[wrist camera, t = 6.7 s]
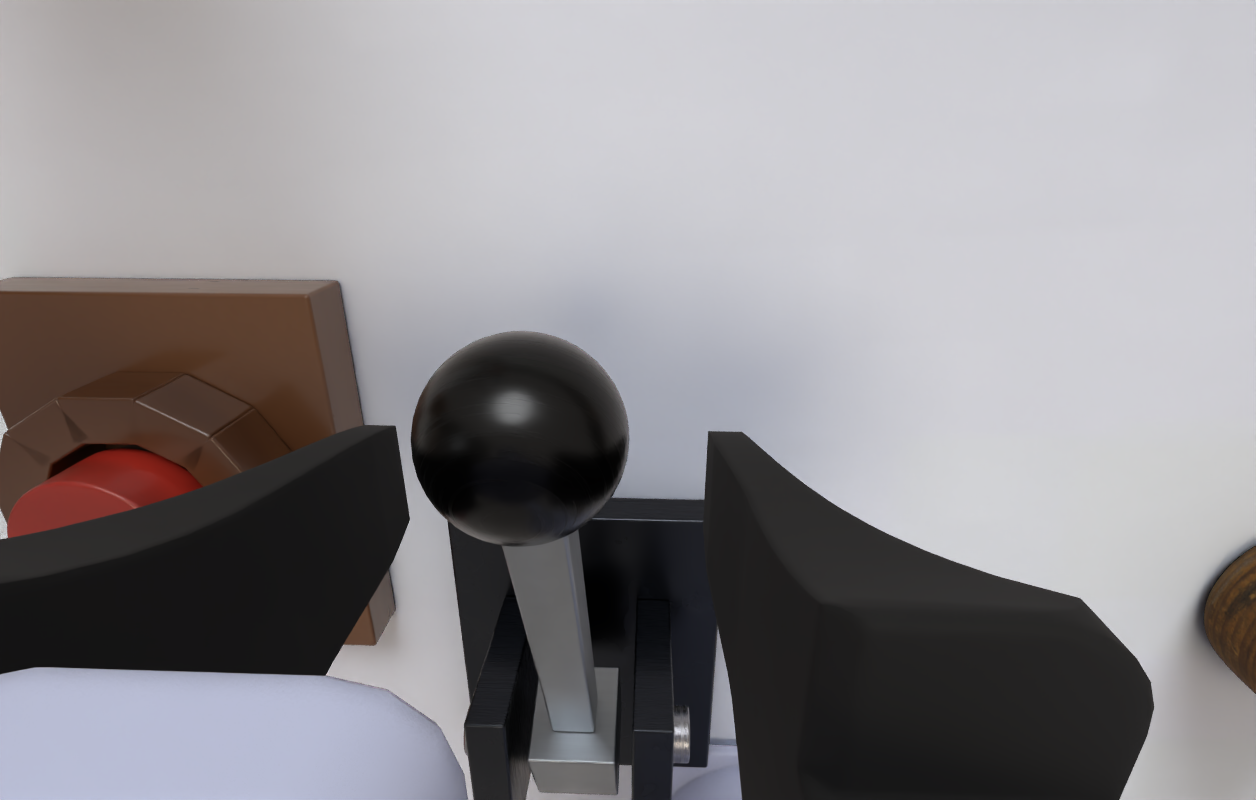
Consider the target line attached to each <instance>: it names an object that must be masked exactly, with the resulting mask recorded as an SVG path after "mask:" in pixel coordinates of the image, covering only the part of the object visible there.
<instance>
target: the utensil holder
mask: <svg viewBox="0 0 1256 800" xmlns="http://www.w3.org/2000/svg"><path fill="white" fill-rule="evenodd" d="M1204 626H1205V631H1206V634H1207V637H1208V639H1209V641H1210V643H1211V645H1212V647H1213V648H1214V650H1215V652H1216V653H1217V654H1218V655H1219V657H1220V658H1221V659H1222V660H1223V661H1224V663H1225V664H1226V665H1227V666H1228V667H1229V668H1230V669H1231V670H1232V671H1233V672H1234V673H1235V674H1236V675H1237V676H1238V677H1239V678H1240V679H1241V680H1242V681H1243V682H1244V683H1245V684H1246V685H1247V686H1248V687H1249V688H1250V689H1251V690H1252V691H1253V692H1254V693H1255V694H1256V546H1254V547H1253V548H1251V549H1250V550H1248V551H1247V552H1245V553H1244V554H1243V555H1242V556H1240V557H1239V558H1238V559H1237V560H1236V561H1234V562H1233V563H1232V564H1231V565H1230V566H1229V567H1228V568H1227V569H1226V570H1225V571H1224V573H1223V574H1222V575H1221V576H1220V578H1219V579H1218V580H1217V582H1216V583H1215V585H1214V587H1213V588H1212V590H1211V592H1210V594H1209V597H1208V599H1207V602H1206V606H1205V612H1204Z"/></svg>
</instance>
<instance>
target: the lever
mask: <svg viewBox="0 0 1256 800" xmlns="http://www.w3.org/2000/svg"><path fill="white" fill-rule="evenodd" d="M411 447H412V459H413V463H414V466H415V470H416V474H417V477H418V479H419V482H420V484H421V486H422V488H423V490H424V492H425V494H426V496H427V497H428V498H429V500H430V501H431V503H432V504H433V505H434V507H435V508H436V509H437V510H438V511H439V513H440V514H441V515H442V516H443V517H445V518H446V519H447V520H448V521H449V522H450V523H452V524H453V525H454V526H455V527H457V528H458V529H460V530H461V531H463V532H465V533H467V534H468V535H471V536H473V537H475V538H477V539H480V540H482V541H485V542H488V543H492V544H496V545H501V546H502V548H503V551H504V555H505V559H506V562H507V566H508V569H509V573H510V577H511V580H512V584H513V588H514V591H515V595H516V599H517V602H518V606H519V609H520V613H521V617H522V620H523V624H524V628H525V631H526V635H527V639H528V642H529V646H530V649H531V653H532V657H533V660H534V664H535V668H536V671H537V675H538V680H537V688H536V695H535V703H534V710H533V718H532V725H531V733H530V740H529V748H528V755H527V762H528V764H529V767H530V770H531V772H532V775H533V777H534V780H535V782H536V785H537V787H538V790H539V792H544V793H571V794H599V795H617V794H618V784H619V759H620V734H621V709H622V704H621V684H620V669H619V668H618V667H594V660H593V652H592V643H591V635H590V626H589V617H588V609H587V600H586V592H585V583H584V575H583V566H582V558H581V549H580V541H579V532H578V529H580V528H581V527H583V526H584V525H586V524H587V523H588V522H589V521H590V520H592V519H593V518H594V517H595V516H596V515H597V514H598V513H599V512H600V511H601V510H602V509H603V507H604V506H605V505H606V504H607V502H608V501H609V500H610V498H611V497H612V496H613V494H614V492H615V490H616V488H617V486H618V484H619V482H620V480H621V478H622V475H623V472H624V468H625V465H626V461H627V456H628V449H629V427H628V419H627V415H626V410H625V407H624V404H623V401H622V399H621V396H620V394H619V392H618V390H617V388H616V386H615V384H614V382H613V381H612V380H611V378H610V377H609V375H608V374H607V373H606V371H605V370H604V369H603V368H602V367H601V365H600V364H599V363H598V362H597V361H596V360H594V359H593V358H592V357H591V356H590V355H588V354H587V353H586V352H585V351H583V350H582V349H580V348H579V347H577V346H576V345H574V344H572V343H570V342H568V341H566V340H563V339H560V338H558V337H555V336H551V335H548V334H544V333H538V332H529V331H511V332H504V333H499V334H495V335H491V336H488V337H484V338H482V339H479V340H477V341H474V342H472V343H471V344H469V345H467V346H465V347H464V348H462V349H460V350H459V351H457V352H456V353H455V354H453V355H452V356H451V357H450V358H448V359H447V360H446V361H445V362H444V363H443V364H442V365H441V366H440V367H439V368H438V369H437V371H436V372H435V373H434V374H433V376H432V377H431V378H430V380H429V381H428V383H427V385H426V386H425V388H424V390H423V392H422V394H421V396H420V398H419V401H418V404H417V406H416V410H415V413H414V417H413V423H412V432H411Z"/></svg>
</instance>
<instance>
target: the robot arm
mask: <svg viewBox="0 0 1256 800" xmlns="http://www.w3.org/2000/svg"><path fill="white" fill-rule="evenodd" d="M409 520H410V518H409V511H408V504H407V498H406V491H405V485H404V478H403V471H402V465H401V458H400V452H399V445H398V438H397V432H396V426H380V425H362V426H358V427H354V428H351V429H348V430H345V431H342V432H339V433H337V434H334V435H331V436H329V437H326V438H324V439H321V440H319V441H317V442H314V443H312V444H309V445H307V446H305V447H302V448H300V449H298V450H295V451H293V452H290V453H288V454H286V455H283V456H281V457H279V458H276V459H274V460H271V461H269V462H267V463H264V464H262V465H259V466H256V467H254V468H251V469H249V470H246V471H244V472H241V473H238V474H236V475H233V476H231V477H228V478H226V479H223V480H221V481H218V482H215V483H213V484H210V485H207V486H204V487H202V488H199V489H196V490H193V491H190V492H187V493H184V494H181V495H178V496H175V497H172V498H168V499H165V500H162V501H159V502H155V503H152V504H149V505H146V506H142V507H139V508H135V509H132V510H128V511H124V512H120V513H116V514H112V515H108V516H104V517H100V518H96V519H92V520H88V521H84V522H80V523H76V524H72V525H68V526H64V527H60V528H55V529H51V530H46V531H41V532H36V533H31V534H26V535H21V536H16V537H11V538H6V539H1V540H0V800H468V797H467V790H466V783H465V775H464V773H463V771H462V769H461V767H460V765H459V763H458V761H457V759H456V757H455V755H454V753H453V751H452V749H451V747H450V746H449V744H448V742H447V740H446V738H445V736H444V734H443V732H442V730H441V728H440V727H439V726H438V725H437V724H436V723H435V722H434V721H432V720H431V719H429V718H428V717H427V716H425V715H424V714H422V713H421V712H419V711H418V710H416V709H415V708H414V707H412V706H411V705H409V704H408V703H406V702H405V701H403V700H402V699H401V698H399V697H398V696H396V695H395V694H393V693H392V692H390V691H389V690H387V689H383V688H379V687H374V686H370V685H365V684H361V683H356V682H352V681H348V680H343V679H339V678H334V677H330V676H325V675H326V673H327V672H328V670H329V668H330V666H331V664H332V662H333V661H334V659H335V657H336V656H337V654H338V652H339V651H340V649H341V648H342V646H343V644H344V643H345V641H346V639H347V638H348V636H349V634H350V633H351V631H352V629H353V628H354V626H355V624H356V623H357V621H358V620H359V618H360V616H361V615H362V613H363V611H364V610H365V608H366V606H367V605H368V603H369V601H370V600H371V598H372V597H373V595H374V593H375V591H376V590H377V588H378V586H379V585H380V583H381V581H382V580H383V578H384V576H385V575H386V573H387V571H388V569H389V568H390V566H391V564H392V562H393V560H394V557H395V555H396V553H397V550H398V548H399V546H400V544H401V541H402V538H403V536H404V533H405V531H406V528H407V525H408V523H409ZM703 533H704V547H705V560H706V572H707V577H708V582H709V586H710V591H711V596H712V601H713V606H714V610H715V615H716V620H717V625H718V629H719V634H720V639H721V643H722V648H723V653H724V658H725V662H726V667H727V672H728V677H729V683H730V689H731V696H732V704H733V713H734V723H735V733H736V742H737V746H734V745H709V754H708V766H707V767H706V768H694V767H673V781H672V800H1119V799H1120V797H1121V794H1122V792H1123V790H1124V787H1125V785H1126V783H1127V781H1128V778H1129V776H1130V774H1131V771H1132V769H1133V767H1134V765H1135V762H1136V760H1137V758H1138V755H1139V753H1140V751H1141V749H1142V746H1143V744H1144V742H1145V739H1146V737H1147V734H1148V730H1149V726H1150V722H1151V718H1152V714H1153V710H1154V702H1153V695H1152V688H1151V682H1150V680H1149V678H1148V677H1147V675H1146V673H1145V672H1144V670H1143V668H1142V667H1141V665H1140V663H1139V662H1138V660H1137V658H1136V657H1135V656H1134V655H1133V654H1132V653H1131V652H1130V651H1129V650H1128V649H1127V648H1126V647H1125V646H1124V644H1123V643H1122V642H1121V641H1120V640H1119V639H1118V638H1117V637H1116V636H1115V635H1114V634H1113V633H1112V632H1111V630H1110V629H1109V628H1108V627H1107V626H1106V625H1105V624H1104V623H1103V622H1102V621H1101V620H1100V619H1099V618H1098V616H1097V615H1096V614H1095V613H1094V612H1093V611H1092V610H1091V609H1090V608H1089V607H1088V606H1087V605H1086V604H1085V603H1084V602H1083V601H1082V600H1081V599H1080V598H1077V597H1073V596H1070V595H1066V594H1062V593H1058V592H1054V591H1051V590H1047V589H1043V588H1039V587H1036V586H1032V585H1028V584H1024V583H1020V582H1017V581H1013V580H1009V579H1005V578H1001V577H998V576H995V575H992V574H989V573H986V572H983V571H980V570H977V569H974V568H971V567H968V566H965V565H962V564H959V563H956V562H953V561H951V560H948V559H945V558H943V557H940V556H938V555H935V554H932V553H930V552H927V551H925V550H922V549H920V548H918V547H916V546H913V545H911V544H909V543H907V542H904V541H902V540H900V539H898V538H895V537H893V536H891V535H889V534H887V533H885V532H883V531H881V530H879V529H877V528H875V527H873V526H871V525H869V524H867V523H865V522H864V521H862V520H860V519H858V518H856V517H855V516H853V515H851V514H849V513H848V512H846V511H844V510H842V509H841V508H839V507H837V506H836V505H834V504H833V503H831V502H830V501H828V500H827V499H825V498H824V497H822V496H821V495H819V494H818V493H817V492H815V491H814V490H812V489H811V488H809V487H808V486H807V485H805V484H804V483H803V482H801V481H800V480H799V479H797V478H796V477H795V476H793V475H792V474H791V473H790V472H788V471H787V470H786V469H785V468H784V467H782V466H781V465H780V464H779V463H777V462H776V461H775V460H774V459H773V458H772V457H770V456H769V455H768V454H767V453H766V452H765V451H764V450H762V449H761V448H760V447H759V446H758V445H757V444H756V443H755V442H753V441H752V440H751V439H750V438H749V437H748V436H746V435H745V434H744V433H743V432H717V431H708V446H707V464H706V482H705V499H704V517H703Z"/></svg>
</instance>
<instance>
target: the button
mask: <svg viewBox="0 0 1256 800" xmlns="http://www.w3.org/2000/svg"><path fill="white" fill-rule="evenodd" d="M202 487H203V486H202V485H201V484H200V483H199V482H198V481H197V480H196V479H195V478H194V477H193V476H192V474H191V473H190V472H189V471H188V470H187V469H185V468H184V467H182V466H181V465H179V464H176V463H174V462H172V461H170V460H168V459H166V458H164V457H161V456H159V455H157V454H155V453H152V452H148V451H144V450H139V449H130V448H118V449H109V450H104V451H100V452H97V453H94V454H93V455H91V456H89V457H87V458H85V459H83V460H81V461H80V462H78V463H76V464H74V465H73V466H71V467H69V468H67V469H66V470H64V471H62V472H60V473H59V474H57V475H55V476H53V477H51V478H50V479H48V480H46V481H44V482H43V483H41V484H39V485H37V486H36V487H34V488H32V489H30V490H29V491H27V492H26V493H25V494H24V495H22V496H21V498H20V499H19V500H18V501H17V502H16V504H15V505H14V507H13V509H12V511H11V513H10V516H9V519H8V526H7V533H8V538H11V537H16V536H21V535H26V534H31V533H36V532H41V531H46V530H51V529H55V528H60V527H64V526H68V525H72V524H76V523H80V522H84V521H88V520H92V519H96V518H100V517H104V516H108V515H112V514H116V513H120V512H124V511H128V510H132V509H135V508H139V507H142V506H146V505H149V504H152V503H155V502H159V501H162V500H165V499H168V498H172V497H175V496H178V495H181V494H184V493H187V492H190V491H193V490H196V489H199V488H202Z"/></svg>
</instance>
